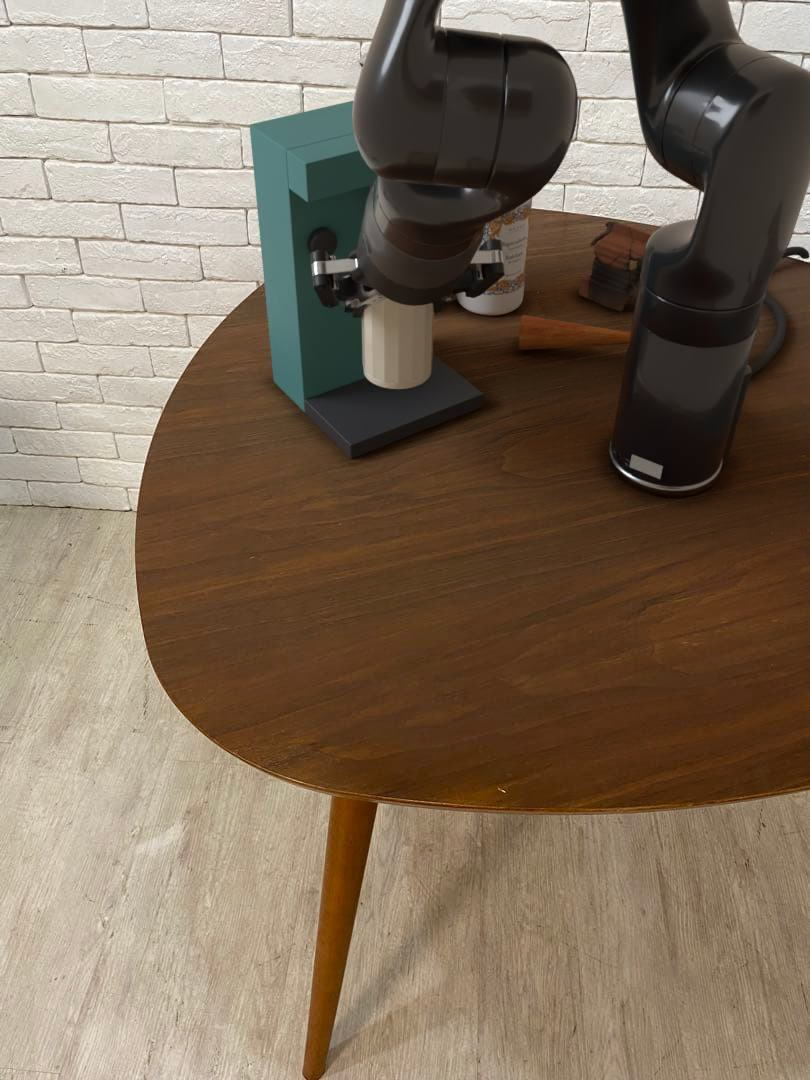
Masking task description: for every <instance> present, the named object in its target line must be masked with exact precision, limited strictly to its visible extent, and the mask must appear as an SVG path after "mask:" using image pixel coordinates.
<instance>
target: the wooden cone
mask: <svg viewBox="0 0 810 1080" xmlns="http://www.w3.org/2000/svg"><path fill="white" fill-rule="evenodd" d="M518 331H519V332H518V333H519V334H518V347H519V351H529V350H530V351H531V350H546V349H549V350H550V349H565V348H581V347H582V348H583V347H599V346H600V347H601V346H602V347H603V346H617V345H628V343H629V338H630V332H631V331H625V330H618V329H611V328H606V327H605V328H604V327H600V326H593V325H587V324H581V323H574V322H569V321H561V320H557V319H556V320H555V319H550V318H549V319H548V318H544V317H537V316H531V315H524V314H523V315H521V318H520V324H519V330H518Z"/></svg>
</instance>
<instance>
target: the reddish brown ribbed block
mask: <svg viewBox="0 0 810 1080" xmlns="http://www.w3.org/2000/svg"><path fill="white" fill-rule="evenodd" d="M605 227H606V230H605V231H604V232H602V233H600V234H599V235H597V236H595V238H593V240H592V241H591V242H590V247H594V248H593V254H594V258H593V262H592V268H591V274H588V273H583V274H581V277H580V283H579V292H578V295H579V296H581V297H582V298H586V299H587V300H589V301H593V302H594V303H595V304H597V305H600V306H602V307H605V308H608V309H610V310H613V311H617V312H620V313H621V312H623V310H624V309H625V305H626V303H627V302H628V299H629V297H630V298H631V300H632V302H633V303H634V304H635V302H636V296H637V291H638V285H639V279H640V274H641V266H642V261H643V255H644V250H645V247H646V244H647V241H648V240H649V238H650V237H651V235H652V234H653V233H652V232H649V231H646V230H643V229H641V228H638V227H634V226H630V225H628V224H625V223H620V222H617V221H608V222H606V223H605ZM631 261H633V262H636V268H632V269H630V264H631V263H630V262H631Z"/></svg>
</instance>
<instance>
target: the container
mask: <svg viewBox="0 0 810 1080" xmlns="http://www.w3.org/2000/svg"><path fill="white" fill-rule="evenodd" d="M434 329H435V312H434V302H433V303H430V304H426V305H419V306H411V305H404V304H400V303H396V302H394V301H391V300H389V299H388V298H386V299H385V300H383V301H381V302H379V303H378V304H365V307H364V311H363V314H362V363H363V372H364V375H365V377H366V378H367V379H368V380H369V381H370V382H372V383H373V384H375V385H377V386H380V387H383V388H388V389H407V388H412V387H415V386H418V385H420V384H422V383H424V382H425V381H426V380H427V379H428V378H429V377H430V375H431V373H432V363H433V354H434Z"/></svg>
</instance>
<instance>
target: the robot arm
mask: <svg viewBox="0 0 810 1080" xmlns="http://www.w3.org/2000/svg"><path fill="white" fill-rule="evenodd" d="M444 2H445V0H385V3H384V6H383V8H382V12H381V15H380V17H379V20H378V23H377V25H376V28H375V30H374V33H373V37H372V40H371V42H370V44H369V47H368V51H367V52H366V53H367V56H366V59H365V62H364V64H363V67H361V70H360V73H359V76H358V80H357V84H356V87H355V91H354V96H353V100H352V101H353V109H352V124H353V133H354V137H355V141H356V145H357V147H358V150H359V152H360V154H361V156H362V158H363V160H364V161H365V163H366V164H367V166H368V167H369V168H370V169H371V170H372V171H373V172H374V173H375V174H376V179H375V182H374V184H373V186H372V188H371V190H370V192H369V195H368V198H367V202H366V206H365V211H364V216H363V221H362V226H361V231H360V236H359V241H358V247H357V248H355V249H354V250H352V251H351V252H350V254H349V256H348V259H339V260H336V256H334V255H331V256H329V255H328V252H326V251H322V250H317V251H314V252H312V253H311V254H310V255H311V266H312V276H313V286H314V290H315V292H316V293H317V295H318V297H319V299H320V301H321V303H322V305H323V306H324V307H328V308H333V307H335V306H338V305H339V301H343V305H344V312H346V313H352V316H353V318H361V317H362V314H363V311H364V307H365V304H378V303H379V302H381V301H383V300H385V299H386V298H388V299H389V300H391V301H394V302H396V303H400V304H404V305H411V306H419V305H426V304H430V303H433V302H434V313H440V312H441V311H442V309H443V307H447V306H449V305H450V304H451V302H454V301H456V300H458V299H457V294H458V293H462V292H465V294H466V297H471V298H476V297H477V296H480V295H482V294H483V293H484V292H485V291H486V290H488V289H489V288H490V287H491V286H492V285H493V284H495V283H496V282H497V281H498V280H499V279H501V278H502V277H503V276H504V275H505V272H504V262H503V253H502V243H501V240H498V239H491V240H489V241H486V242H485V243H484V244H483V245H482V246H481V247H480V244H481V242H482V239H483V235H484V231H485V227H486V224H487V223H488V222H491V221H493V220H495V219H497V218H499V217H500V216H502V215H504V214H506V213H508V212H510V211H512V210H513V209H515V208H517V207H519V206H520V205H522V204H523V203H525V202H526V201H528V200H529V199H531V198H532V199H533V198H534V197H536V196H537V195H538V194H539V193H540V192H541V191H542V190H543V189H544V188H545V187H546V185H547V184H548V183H549V182H551V180H552V178H553V177H554V176H555V174H556V173H557V172H558V170H559V168H560V166H561V165H562V164H563V161H564V160H565V158H566V156H567V154H568V151H569V149H570V146H571V144H572V142H573V138H574V135H575V131H576V127H577V122H578V116H579V115H578V113H579V95H578V89H577V88H578V87H577V83H576V79H575V76H574V73H573V71H572V70H571V69H572V68H571V66H570V65H569V63H568V61H567V60H566V59H565V58H564V56H563V55H562V53H561V52H560V51H559V50H557V49H556V47H554V46H553V45H551V44H550V43H548V42H546V41H544V40H541V39H539V38H535V37H532V36H527V35H517V34H510V33H501V34H500V33H499V32H493V31H483V30H474V29H464V28H456V27H444V26H440V25H438V24H437V23H438V22H437V21H438V17H439V14H440V11H441V8H442V6H443V4H444ZM619 5H620V8H621V12H622V13H621V14H622V18H623V23H624V29H625V34H626V40H627V46H628V47H627V48H628V53H629V54H628V55H629V60H630V68H631V75H632V82H633V90H634V96H635V102H636V103H635V104H636V109H637V110H636V111H637V115H638V121H639V126H640V129H641V134H642V137H643V141H644V144H645V146H646V147H647V150H648V151H649V153H650V155H651V157H652V158H653V159H654V161H655V162H656V163H657V164H658V165H659V166H660V167H661V168H662V169H663V170H665V171H666V172H667V173H669V174H670V175H672V176H674V177H675V178H677V179H679V180H680V181H682V182H683V183H685V184H687V185H689V186H691V187H693V188H695V189H696V190H698V191H699V192H702V193H703V196H702V200H701V204H700V209H699V212H698V215H697V218H691V219H684V220H678V221H675V222H672V223H669V224H666V225H663V226H661V227H659V228H658V229H657V230H655V231H654V232H653V233H652V235H651V237H650V238H649V240H648V241H647V244H646V247H645V250H644V255H643V261H642V266H641V274H640V279H639V285H638V291H637V296H636V302H635V303H634V308H633V316H632V321H631V328H630V331H629V332H630V338H629V343H628V344H627V348H626V349H627V350H626V356H625V361H624V366H623V371H622V379H621V385H620V388H619V389H620V390H619V396H618V401H617V405H616V406H617V407H616V413H615V417H614V422H613V423H614V424H613V428H612V435H611V438H610V441H609V447H608V452H607V460H608V465H609V466H610V469H611V470H612V471H613V473H614V474H615V476H617V477H618V478H619V479H620V480H621V481H623V483H625V484H627V485H628V486H630V487H632V488H634V489H636V490H638V491H641V492H644V493H647V494H651V495H655V496H660V497H669V498H673V497H674V498H675V497H677V498H680V497H687V496H693V495H696V494H700V493H702V492H705V491H706V490H708V489H710V487H712V486H713V485H714V484H716V482H717V480H718V478H719V476H720V474H721V470H722V467H723V466H724V465H726V464H728V462H729V457H730V454H731V451H732V447H733V443H734V438H735V436H736V432H737V427H738V424H739V422H740V417H741V413H742V409H743V405H744V403H745V402H744V401H745V399H746V395H747V390H748V386H749V384H750V380H751V377H752V376H754V375H755V374H756V373H758V372H759V371H760V370H761V369H762V368H763V369H764V367H765V366H766V365H767V364H768V363H769V362H770V361H771V360H772V359H773V358H774V356H775V355H776V354H777V353H778V352H779V350H780V349H781V348H782V345H783V343H784V341H785V338H786V335H787V317H786V313H785V311H784V309H783V307H782V306H781V305H780V304H779V303H778V302H777V300H776V299H774V297H773V296H772V295H771V294H770V293H769V292H767V291H768V287H769V285H770V280H771V278H772V275H773V273H774V271H775V270H776V268H777V267H778V265H779V263H780V262H781V260H783V259H785V258H788V257H792V256H799V257H800V258H801V259H803V260H807V259H809V258H810V253H809V250H808V249H806V248H805V247H803V246H790V242H791V241H792V237H793V234H794V232H795V228H796V225H797V222H798V219H799V216H800V213H801V210H802V207H803V203H804V200H805V197H806V194H807V192H808V188H809V186H810V71H809V70H808V69H806V68H804V67H802V66H800V65H798V64H795V63H793V62H791V61H788V60H786V59H784V58H781V57H778V56H776V55H774V54H772V53H769V52H767V51H764V50H762V49H760V48H757V47H755V46H752V45H750V44H747V42H745V41H744V40H743V38H742V36H741V35H740V33H739V32H738V29H737V27H736V24H735V21H734V17H733V15H732V11H731V7H730V2H729V0H619ZM789 246H790V247H789ZM343 277H344V278H343ZM764 304H765V305H766V306H767V307H768V308H769V310H771V312H772V313H773V315H774V317H775V320H776V332H775V335H774V338H773V340H772V342H771V343H770V345H769V346H768V348H767V349H766V350H765V351H764V352H763V353H762V354H761V355H760V356H759V357H758V358H757V359H756V360H754V362H752V363H750V364H749V359H750V355H751V353H752V348H753V344H754V341H755V337H756V333H757V329H758V325H759V321H760V317H761V314H762V310H763V306H764Z"/></svg>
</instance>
